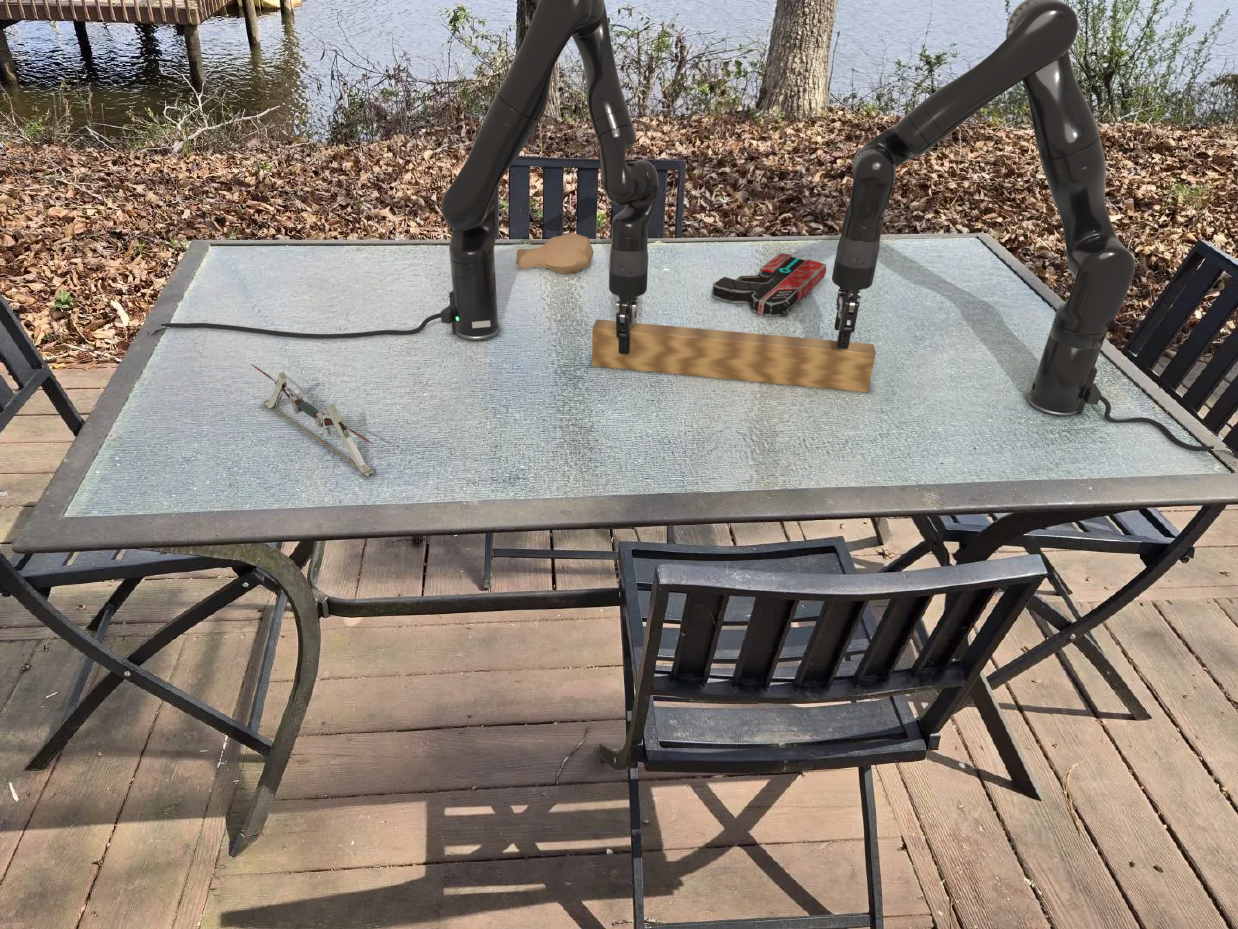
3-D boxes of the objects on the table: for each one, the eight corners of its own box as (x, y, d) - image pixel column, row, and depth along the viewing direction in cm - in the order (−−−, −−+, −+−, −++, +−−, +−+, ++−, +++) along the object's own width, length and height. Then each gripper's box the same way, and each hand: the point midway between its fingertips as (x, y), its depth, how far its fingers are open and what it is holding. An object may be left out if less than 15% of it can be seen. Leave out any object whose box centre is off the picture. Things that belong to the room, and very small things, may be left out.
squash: (595, 277, 221) (590, 246, 215) (517, 285, 222) (510, 253, 216) (596, 255, 229) (591, 224, 223) (520, 262, 230) (514, 231, 224)
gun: (708, 284, 207) (784, 305, 199) (760, 245, 229) (831, 262, 221) (706, 302, 209) (781, 323, 201) (758, 261, 231) (828, 278, 223)
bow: (384, 479, 145) (376, 427, 139) (374, 483, 144) (366, 432, 138) (264, 397, 166) (253, 350, 161) (255, 401, 165) (244, 353, 160)
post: (592, 366, 181) (592, 328, 176) (595, 356, 184) (596, 319, 180) (867, 392, 174) (875, 353, 170) (866, 382, 178) (873, 343, 173)
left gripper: (642, 283, 164) (639, 365, 173) (652, 256, 176) (648, 334, 185) (603, 280, 165) (601, 361, 174) (615, 253, 177) (613, 331, 186)
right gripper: (880, 275, 156) (863, 356, 165) (873, 247, 168) (857, 325, 177) (837, 271, 157) (822, 352, 166) (833, 244, 169) (820, 321, 178)
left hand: (626, 347), depth 180 cm, fingers closed on post, 4 cm apart
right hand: (840, 338), depth 171 cm, fingers open, 8 cm apart
